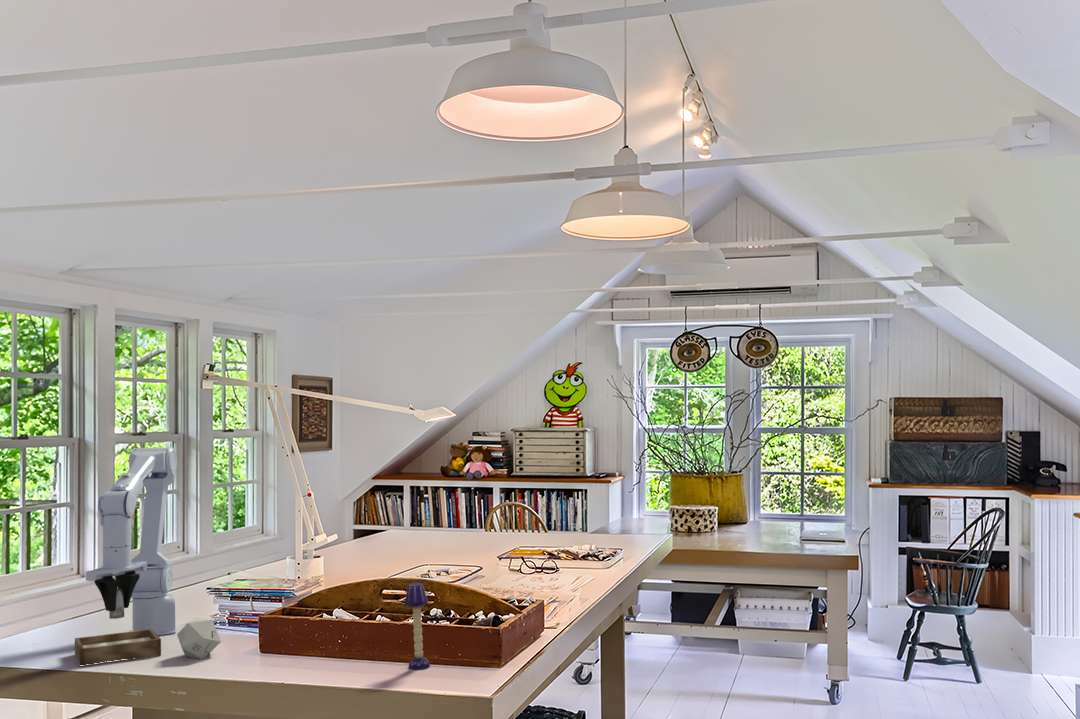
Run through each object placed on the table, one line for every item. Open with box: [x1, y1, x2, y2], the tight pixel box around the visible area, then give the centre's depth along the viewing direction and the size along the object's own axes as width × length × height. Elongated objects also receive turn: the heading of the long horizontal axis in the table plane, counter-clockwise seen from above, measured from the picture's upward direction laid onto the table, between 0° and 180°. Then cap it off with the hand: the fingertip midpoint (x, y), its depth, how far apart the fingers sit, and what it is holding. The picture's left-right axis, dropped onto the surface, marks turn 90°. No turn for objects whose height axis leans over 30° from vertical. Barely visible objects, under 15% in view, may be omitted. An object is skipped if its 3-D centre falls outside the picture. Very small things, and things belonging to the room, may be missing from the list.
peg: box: [108, 587, 125, 620], centre depth 221 cm, size 3×3×6 cm
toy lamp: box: [404, 582, 431, 670], centre depth 206 cm, size 5×5×17 cm
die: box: [176, 617, 222, 659], centre depth 218 cm, size 8×9×10 cm
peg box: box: [74, 629, 162, 666], centre depth 220 cm, size 16×12×4 cm
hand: (117, 609), depth 221 cm, fingers closed on peg, 3 cm apart
